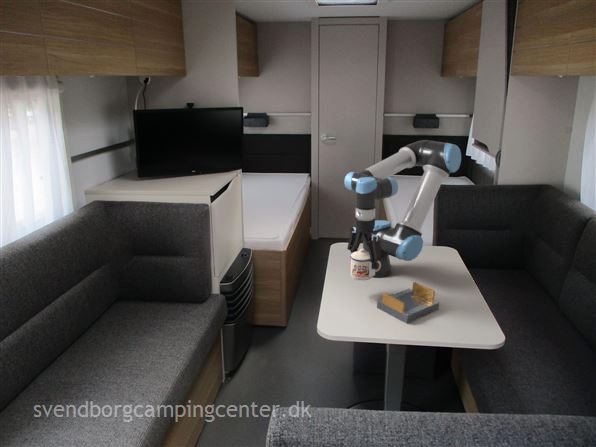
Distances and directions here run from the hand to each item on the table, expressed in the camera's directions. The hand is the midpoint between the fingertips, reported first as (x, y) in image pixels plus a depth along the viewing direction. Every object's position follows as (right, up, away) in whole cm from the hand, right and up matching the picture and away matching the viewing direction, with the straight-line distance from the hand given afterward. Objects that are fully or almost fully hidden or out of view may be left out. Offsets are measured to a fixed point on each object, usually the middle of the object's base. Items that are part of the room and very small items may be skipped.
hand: (363, 271), depth 200 cm
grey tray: (+16, -14, -7) cm, 22 cm away
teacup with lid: (+1, -2, 0) cm, 2 cm away
